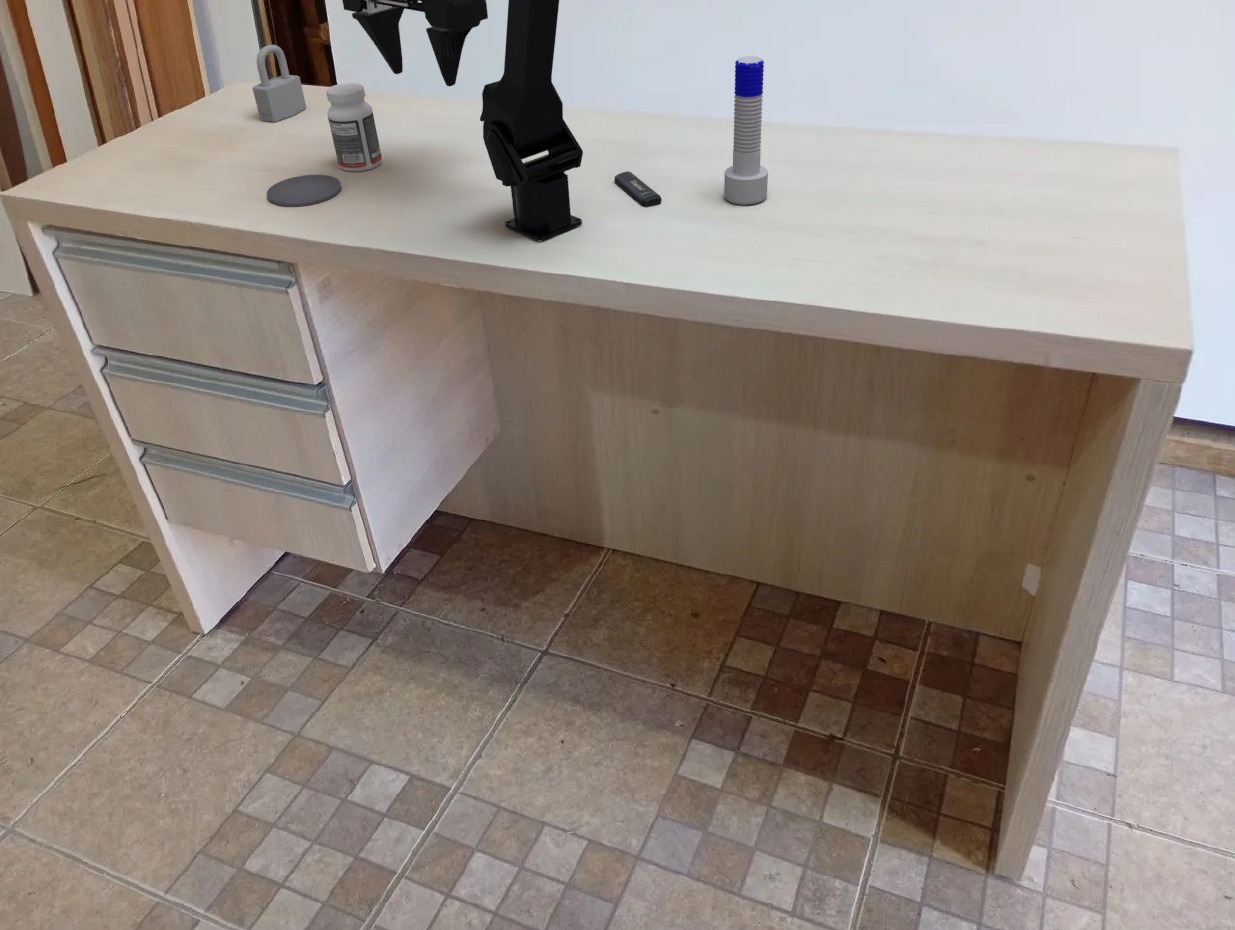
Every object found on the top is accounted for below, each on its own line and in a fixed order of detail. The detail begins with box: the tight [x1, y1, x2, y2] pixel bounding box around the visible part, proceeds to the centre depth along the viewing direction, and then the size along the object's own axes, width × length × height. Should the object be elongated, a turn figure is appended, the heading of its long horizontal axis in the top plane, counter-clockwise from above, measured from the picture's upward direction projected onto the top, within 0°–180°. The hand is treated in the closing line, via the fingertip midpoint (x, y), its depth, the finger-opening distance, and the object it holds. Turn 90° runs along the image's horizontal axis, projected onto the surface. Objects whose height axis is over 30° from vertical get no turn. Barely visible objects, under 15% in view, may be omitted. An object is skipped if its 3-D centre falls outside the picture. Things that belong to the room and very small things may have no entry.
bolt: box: [723, 56, 769, 206], centre depth 116 cm, size 16×5×5 cm
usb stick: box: [613, 171, 662, 208], centre depth 123 cm, size 10×3×2 cm, turn 22°
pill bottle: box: [325, 82, 383, 173], centre depth 132 cm, size 6×6×10 cm
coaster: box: [266, 174, 342, 208], centre depth 128 cm, size 9×9×1 cm
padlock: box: [252, 44, 307, 123], centre depth 151 cm, size 7×4×10 cm, turn 152°
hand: (424, 79), depth 121 cm, fingers open, 9 cm apart
